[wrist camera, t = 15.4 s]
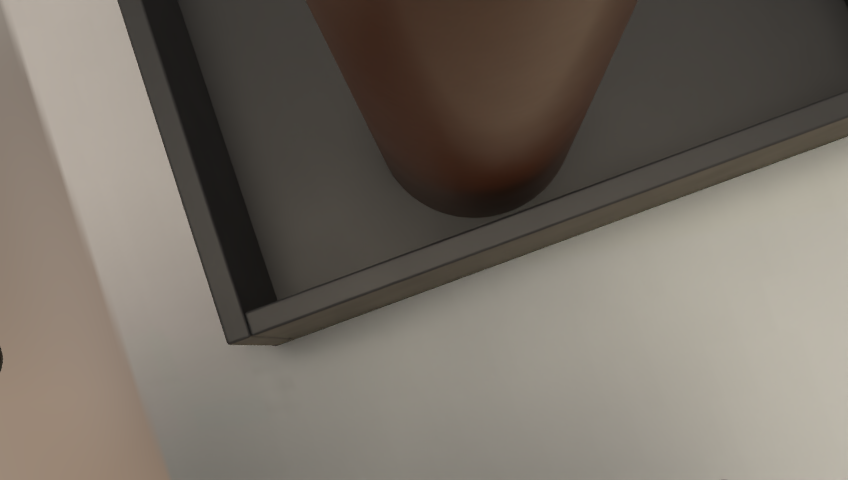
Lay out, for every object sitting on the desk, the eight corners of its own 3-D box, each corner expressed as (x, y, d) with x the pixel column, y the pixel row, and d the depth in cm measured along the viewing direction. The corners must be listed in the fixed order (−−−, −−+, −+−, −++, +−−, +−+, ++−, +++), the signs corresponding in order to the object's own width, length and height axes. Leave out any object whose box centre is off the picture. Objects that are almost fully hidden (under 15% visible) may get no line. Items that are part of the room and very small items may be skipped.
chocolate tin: (528, 253, 23) (644, 31, 7) (341, 173, 23) (51, -200, 7) (607, 69, 23) (888, -535, 7) (423, -4, 24) (314, -702, 8)
